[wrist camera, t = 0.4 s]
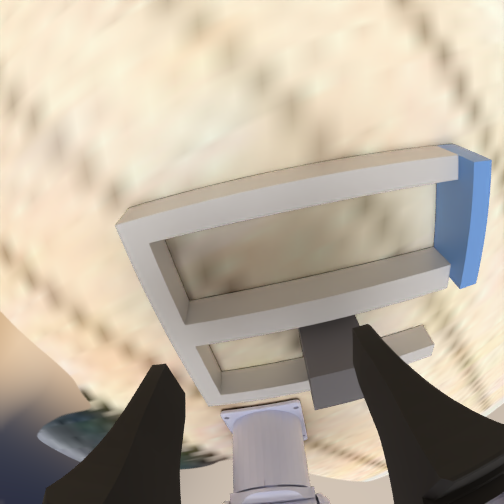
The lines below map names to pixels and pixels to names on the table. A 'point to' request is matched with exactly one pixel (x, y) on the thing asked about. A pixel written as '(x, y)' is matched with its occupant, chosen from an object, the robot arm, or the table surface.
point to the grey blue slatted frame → (314, 287)
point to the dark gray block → (330, 361)
